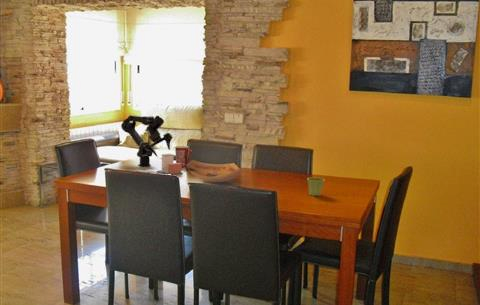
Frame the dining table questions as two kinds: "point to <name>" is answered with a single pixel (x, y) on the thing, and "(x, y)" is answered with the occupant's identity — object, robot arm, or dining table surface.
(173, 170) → the housing
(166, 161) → the pale beige block
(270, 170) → the dining table surface
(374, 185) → the dining table surface
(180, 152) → the mug
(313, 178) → the plant pot
